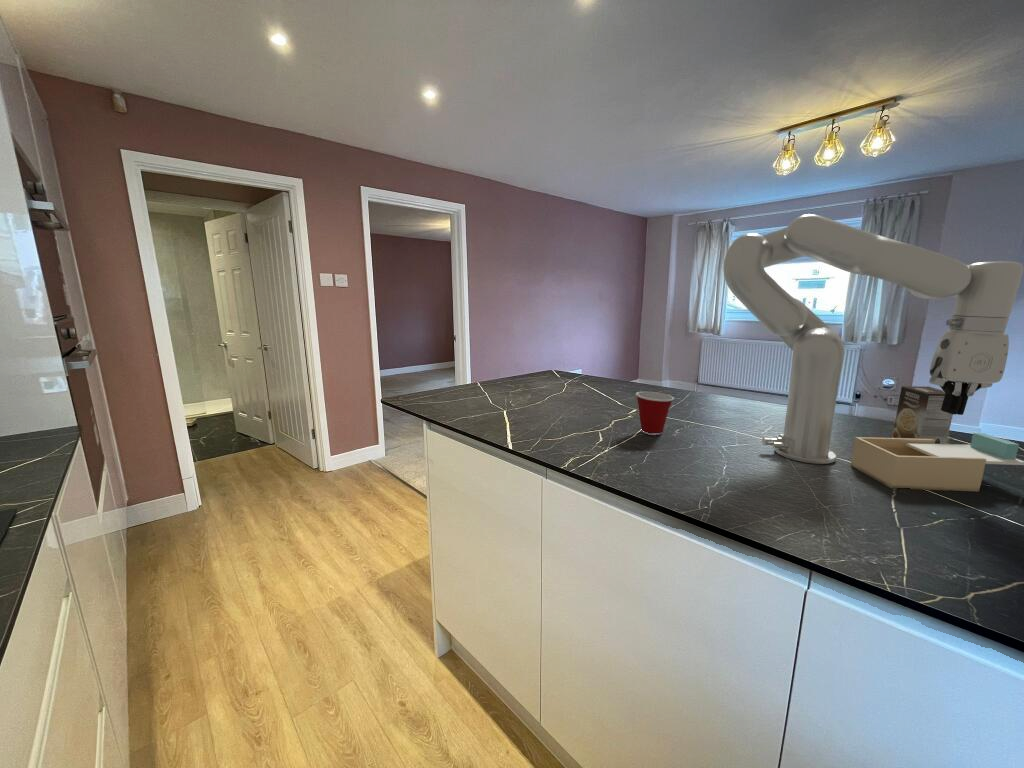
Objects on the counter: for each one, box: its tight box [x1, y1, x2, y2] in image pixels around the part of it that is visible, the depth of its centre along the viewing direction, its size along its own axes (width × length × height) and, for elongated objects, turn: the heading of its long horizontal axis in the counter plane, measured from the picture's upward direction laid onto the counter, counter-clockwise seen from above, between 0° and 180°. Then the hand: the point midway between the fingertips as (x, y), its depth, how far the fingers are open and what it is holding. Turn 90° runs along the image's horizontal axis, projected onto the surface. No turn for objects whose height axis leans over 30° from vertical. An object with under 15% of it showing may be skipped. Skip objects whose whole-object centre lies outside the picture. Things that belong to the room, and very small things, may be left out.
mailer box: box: [850, 436, 986, 492], centre depth 87 cm, size 16×12×7 cm
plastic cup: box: [635, 391, 675, 433], centre depth 119 cm, size 11×11×12 cm
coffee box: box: [891, 385, 954, 444], centre depth 102 cm, size 9×6×16 cm
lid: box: [906, 432, 1024, 466], centre depth 85 cm, size 14×10×4 cm
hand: (951, 412), depth 84 cm, fingers closed
